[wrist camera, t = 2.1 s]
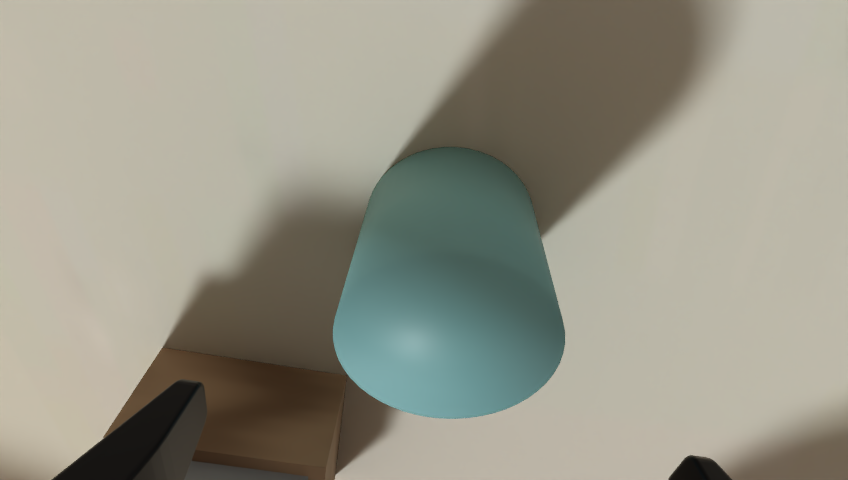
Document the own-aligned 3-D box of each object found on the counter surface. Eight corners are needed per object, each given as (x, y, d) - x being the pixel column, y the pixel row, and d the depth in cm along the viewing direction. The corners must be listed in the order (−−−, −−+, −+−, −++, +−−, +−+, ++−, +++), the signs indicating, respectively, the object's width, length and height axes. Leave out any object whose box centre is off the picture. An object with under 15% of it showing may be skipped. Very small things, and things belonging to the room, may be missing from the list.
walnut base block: (348, 370, 19) (326, 467, 16) (336, 469, 23) (316, 564, 20) (165, 343, 19) (103, 437, 15) (185, 449, 23) (139, 542, 19)
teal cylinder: (556, 164, 14) (601, 276, 9) (508, 299, 16) (527, 431, 12) (376, 131, 13) (341, 232, 9) (359, 274, 16) (326, 401, 12)
